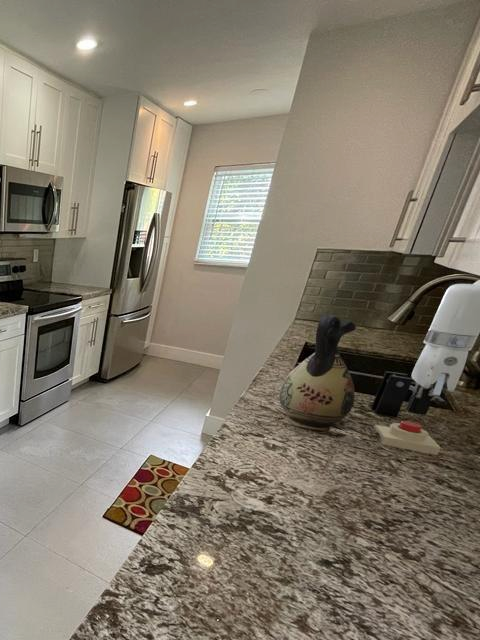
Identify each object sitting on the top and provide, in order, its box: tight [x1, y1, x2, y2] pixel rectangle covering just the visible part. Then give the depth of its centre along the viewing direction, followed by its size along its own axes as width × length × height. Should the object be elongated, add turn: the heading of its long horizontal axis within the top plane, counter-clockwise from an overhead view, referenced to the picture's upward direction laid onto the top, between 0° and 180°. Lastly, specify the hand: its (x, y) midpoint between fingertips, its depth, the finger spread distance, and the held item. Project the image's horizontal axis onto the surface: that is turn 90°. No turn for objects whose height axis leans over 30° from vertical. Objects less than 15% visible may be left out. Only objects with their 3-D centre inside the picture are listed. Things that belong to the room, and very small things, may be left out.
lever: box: [387, 374, 447, 407], centre depth 112 cm, size 12×6×2 cm, turn 60°
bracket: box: [370, 371, 414, 418], centre depth 115 cm, size 12×10×13 cm
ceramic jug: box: [278, 314, 357, 433], centre depth 107 cm, size 17×15×30 cm
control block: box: [373, 422, 442, 456], centre depth 102 cm, size 10×8×4 cm
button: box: [399, 420, 423, 433], centre depth 101 cm, size 4×4×2 cm
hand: (415, 412), depth 100 cm, fingers closed
